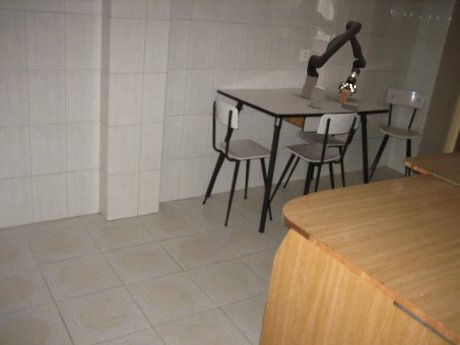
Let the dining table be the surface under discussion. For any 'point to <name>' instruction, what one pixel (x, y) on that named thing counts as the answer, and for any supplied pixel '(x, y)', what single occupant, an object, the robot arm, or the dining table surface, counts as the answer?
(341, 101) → the brick pillar
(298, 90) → the dining table surface
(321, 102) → the skincare box
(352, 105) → the charcoal block
